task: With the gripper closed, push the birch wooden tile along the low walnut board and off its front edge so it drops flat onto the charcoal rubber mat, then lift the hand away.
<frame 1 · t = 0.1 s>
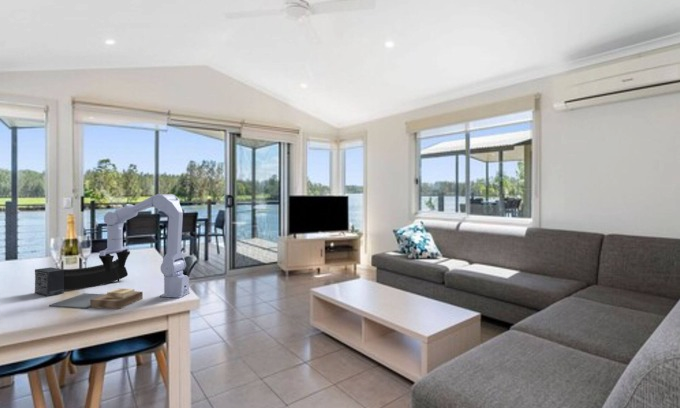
hand: (115, 269, 153), 10 cm above the table, tool pointing down, fingers open, 7 cm apart
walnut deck: (117, 302, 138), on the table
charcoal mat: (85, 301, 140), on the table
birch tile: (120, 295, 138), point 3 cm above the table, touching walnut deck
magazine: (91, 286, 161), on the table, touching small box
small box: (49, 293, 150), on the table, touching magazine
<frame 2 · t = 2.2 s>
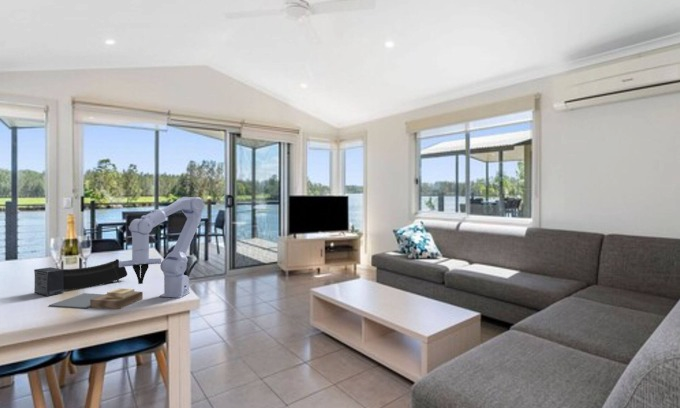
hand: (140, 283, 137), 8 cm above the table, tool pointing down, fingers closed
nothing on the table moved.
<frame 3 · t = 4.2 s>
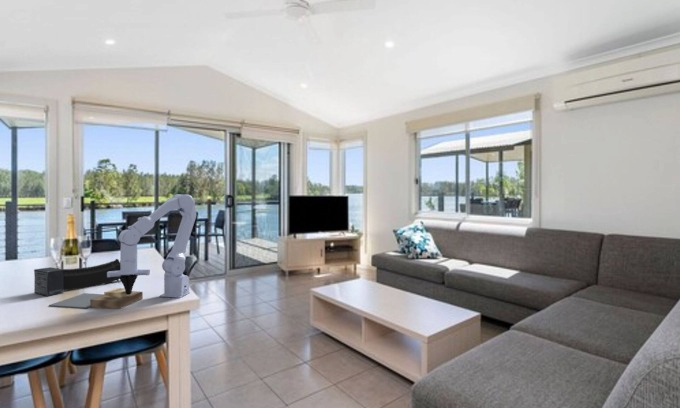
hand: (128, 293, 137), 4 cm above the table, tool pointing down, fingers closed
birch tile: (118, 295, 138), point 3 cm above the table, touching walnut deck
small box: (49, 293, 150), on the table, touching magazine
everything else where it was.
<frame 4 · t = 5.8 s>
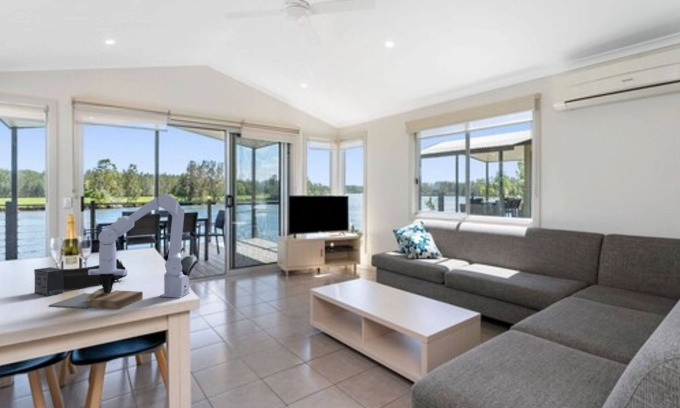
hand: (107, 292, 138), 4 cm above the table, tool pointing down, fingers closed
birch tile: (101, 295, 140), point 2 cm above the table, tilted 32°, touching charcoal mat, gripper
small box: (49, 293, 150), on the table, touching magazine
everything else where it was.
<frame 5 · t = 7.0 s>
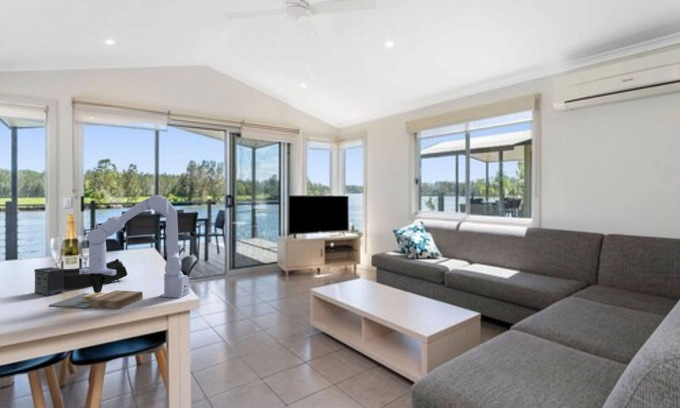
hand: (97, 292, 139), 4 cm above the table, tool pointing down, fingers closed
birch tile: (96, 299, 140), resting on charcoal mat
small box: (49, 293, 150), on the table, touching magazine
everything else where it was.
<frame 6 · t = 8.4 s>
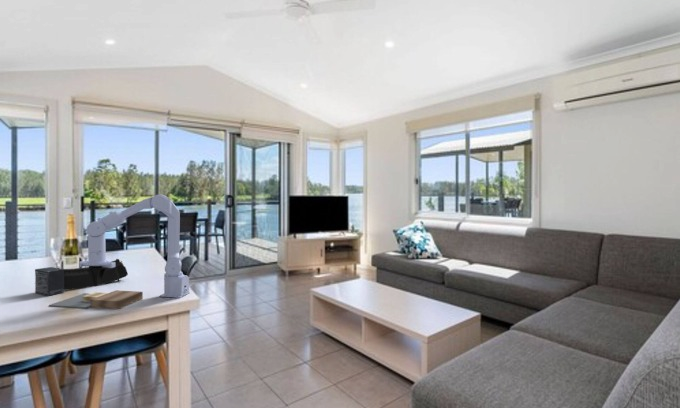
hand: (97, 284, 139), 7 cm above the table, tool pointing down, fingers closed
nothing on the table moved.
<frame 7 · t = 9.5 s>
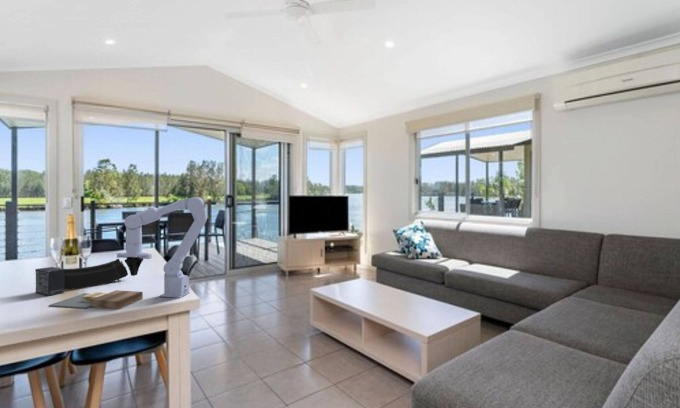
hand: (134, 275, 146), 9 cm above the table, tool pointing down, fingers closed
nothing on the table moved.
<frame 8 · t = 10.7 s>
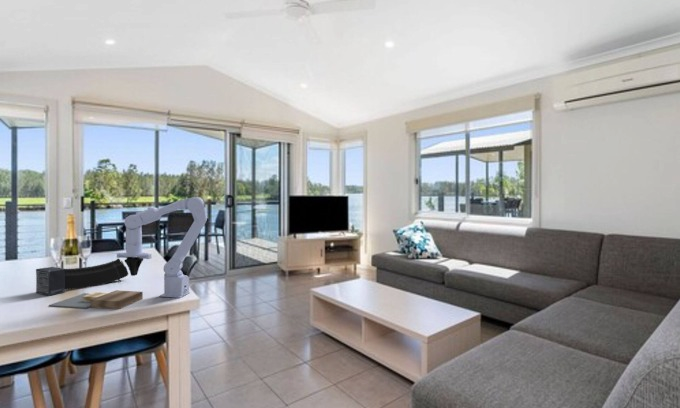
hand: (134, 275, 146), 9 cm above the table, tool pointing down, fingers closed
nothing on the table moved.
at the end: birch tile inside the target area (4.4 cm from its centre), point 0.5 cm above the table; birch tile tilted 0° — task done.
